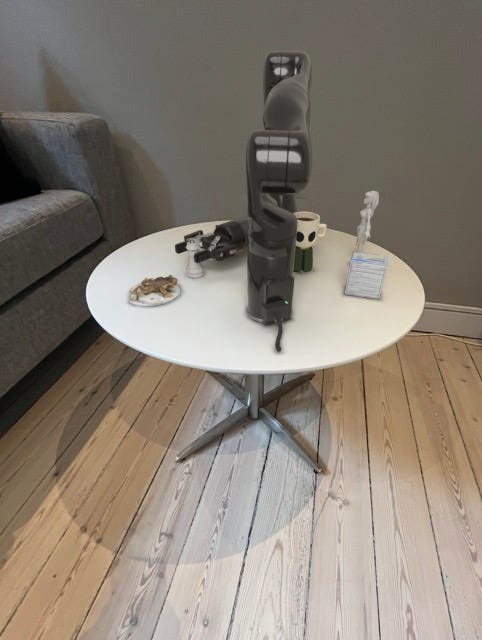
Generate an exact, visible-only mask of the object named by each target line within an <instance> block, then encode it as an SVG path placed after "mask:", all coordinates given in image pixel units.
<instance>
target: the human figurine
mask: <svg viewBox="0 0 482 640" xmlns="http://www.w3.org/2000/svg"><path fill="white" fill-rule="evenodd" d="M379 202H380V195H379V191H376V190H371V191H367V192H365V197H364V198H363V205H365V208H364V209H362V210H361V211H360V212H359V215H360V217H361V218H360V224H358V226H357V228H356V242H355V245H357V248H356V253H364V248H363V245H364V246H365V245H366V243H367V241H368V240H369V238H371V230H372V226H371V218H372V217H373V216H374V213H375V211H376V208H377V206H378V204H380V203H379ZM350 263H351V261H350V262H349V264H350Z"/></svg>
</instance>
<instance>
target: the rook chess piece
mask: <svg viewBox="0 0 482 640" xmlns="http://www.w3.org/2000/svg"><path fill="white" fill-rule="evenodd" d="M186 249H187V250H188V251H187V256H188V261H187V262H188V263H187V267H186V268H185V271H186V272H185V274H186V276H187V277H188V278H190V279H199V278H202V277H203V276H204V275H205V272H204V266H202V264H201V262H200V263H195V262H194V254H195V253H197V252H199V251H198V249H199V245H198V242H196V241H195V242H194V243H193V241H191V243H190V242H188V243H187V246H186Z"/></svg>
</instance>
